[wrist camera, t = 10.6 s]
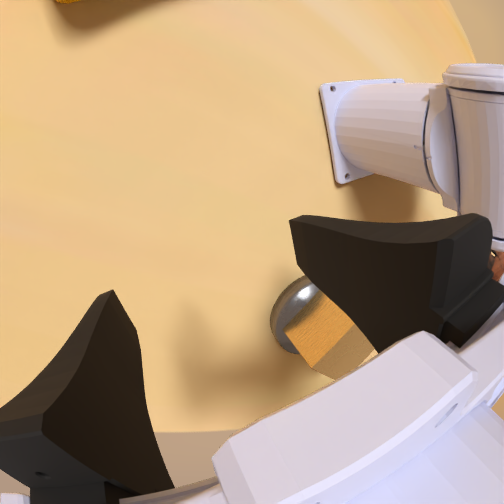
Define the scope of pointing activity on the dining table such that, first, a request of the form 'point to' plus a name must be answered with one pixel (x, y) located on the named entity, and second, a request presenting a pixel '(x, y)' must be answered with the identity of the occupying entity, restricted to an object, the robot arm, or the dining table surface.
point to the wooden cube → (327, 337)
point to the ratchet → (290, 309)
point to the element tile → (66, 1)
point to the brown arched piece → (496, 264)
